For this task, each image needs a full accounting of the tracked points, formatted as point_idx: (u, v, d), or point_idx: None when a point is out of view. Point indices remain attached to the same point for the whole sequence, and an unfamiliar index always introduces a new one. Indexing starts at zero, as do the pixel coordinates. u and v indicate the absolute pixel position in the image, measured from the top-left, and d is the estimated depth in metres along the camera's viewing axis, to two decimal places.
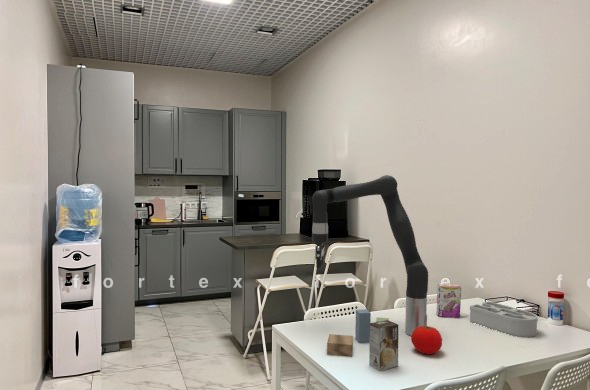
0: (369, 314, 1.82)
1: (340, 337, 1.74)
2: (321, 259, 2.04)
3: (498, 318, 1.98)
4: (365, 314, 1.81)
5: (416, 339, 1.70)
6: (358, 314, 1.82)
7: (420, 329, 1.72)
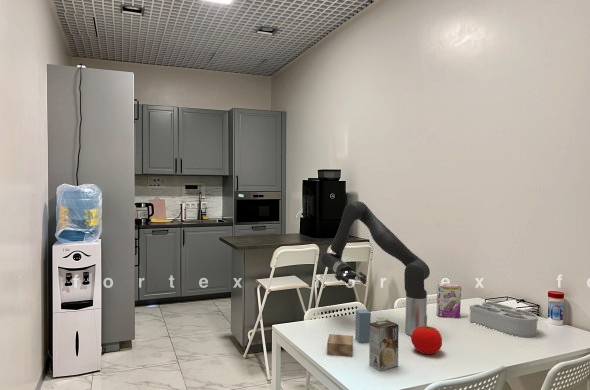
0: (369, 314, 1.82)
1: (340, 337, 1.74)
2: (362, 279, 1.97)
3: (498, 318, 1.98)
4: (365, 314, 1.81)
5: (416, 339, 1.70)
6: (358, 314, 1.82)
7: (420, 329, 1.72)
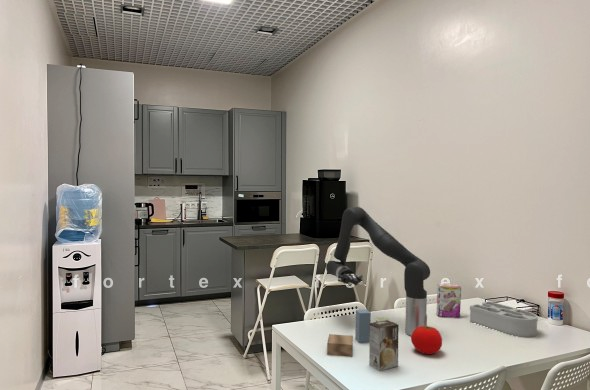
0: (369, 314, 1.82)
1: (340, 337, 1.74)
2: None
3: (498, 318, 1.98)
4: (365, 314, 1.81)
5: (416, 339, 1.70)
6: (358, 314, 1.82)
7: (420, 329, 1.72)
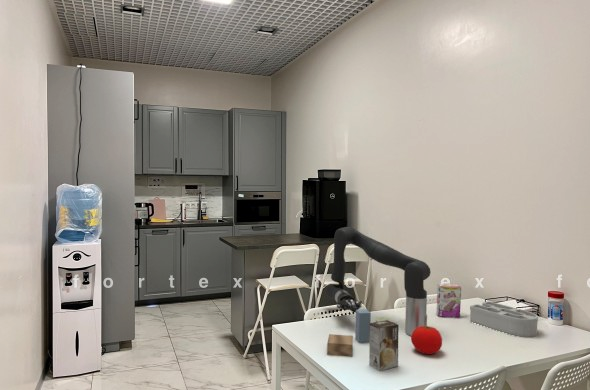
0: (369, 314, 1.82)
1: (340, 337, 1.75)
2: None
3: (499, 318, 1.98)
4: (365, 314, 1.81)
5: (416, 339, 1.70)
6: (358, 314, 1.82)
7: (420, 329, 1.72)
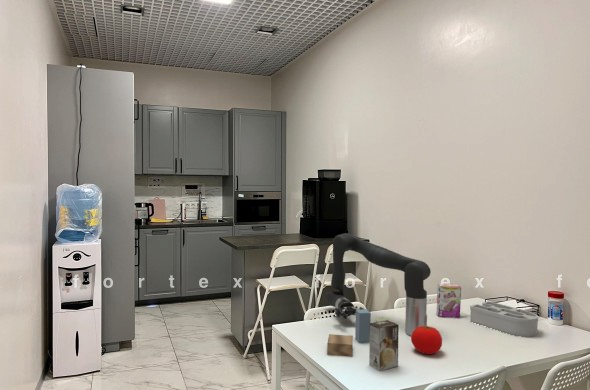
0: (369, 314, 1.82)
1: (340, 337, 1.75)
2: None
3: (499, 318, 1.98)
4: (365, 314, 1.81)
5: (416, 339, 1.70)
6: (358, 314, 1.82)
7: (420, 329, 1.72)
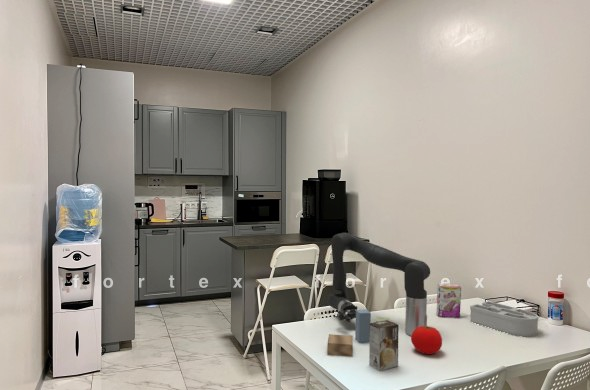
0: (369, 314, 1.82)
1: (340, 337, 1.75)
2: None
3: (499, 318, 1.98)
4: (365, 314, 1.81)
5: (416, 339, 1.70)
6: (358, 314, 1.82)
7: (420, 329, 1.72)
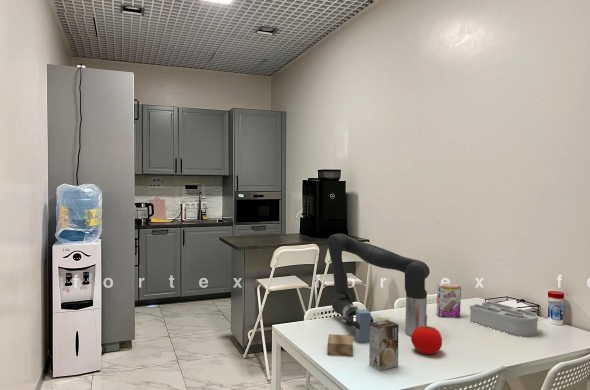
0: (369, 314, 1.82)
1: (340, 337, 1.75)
2: None
3: (499, 318, 1.98)
4: (365, 314, 1.81)
5: (416, 339, 1.70)
6: (358, 314, 1.82)
7: (420, 329, 1.72)
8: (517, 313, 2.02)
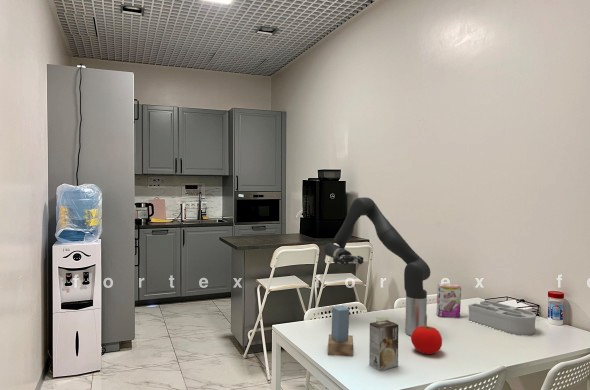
0: (348, 311, 1.71)
1: None
2: (358, 260, 2.00)
3: (497, 317, 2.00)
4: (344, 311, 1.70)
5: (416, 339, 1.70)
6: (337, 312, 1.70)
7: (420, 329, 1.72)
8: (515, 312, 2.03)
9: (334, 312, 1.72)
